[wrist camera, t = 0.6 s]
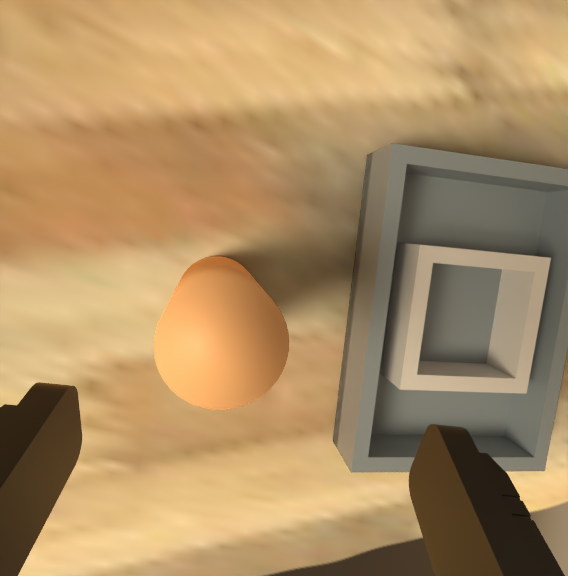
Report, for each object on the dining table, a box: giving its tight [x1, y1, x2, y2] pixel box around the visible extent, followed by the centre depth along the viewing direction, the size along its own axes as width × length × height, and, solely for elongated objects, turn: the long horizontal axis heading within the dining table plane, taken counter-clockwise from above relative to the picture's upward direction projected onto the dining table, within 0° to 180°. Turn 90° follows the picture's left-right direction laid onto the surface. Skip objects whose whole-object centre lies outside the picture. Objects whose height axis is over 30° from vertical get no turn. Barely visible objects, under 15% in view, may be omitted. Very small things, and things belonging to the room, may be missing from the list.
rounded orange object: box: [154, 256, 289, 410], centre depth 22 cm, size 5×5×12 cm
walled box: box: [333, 143, 568, 472], centre depth 28 cm, size 20×14×4 cm
